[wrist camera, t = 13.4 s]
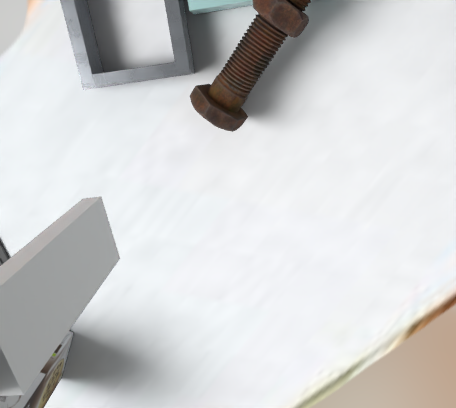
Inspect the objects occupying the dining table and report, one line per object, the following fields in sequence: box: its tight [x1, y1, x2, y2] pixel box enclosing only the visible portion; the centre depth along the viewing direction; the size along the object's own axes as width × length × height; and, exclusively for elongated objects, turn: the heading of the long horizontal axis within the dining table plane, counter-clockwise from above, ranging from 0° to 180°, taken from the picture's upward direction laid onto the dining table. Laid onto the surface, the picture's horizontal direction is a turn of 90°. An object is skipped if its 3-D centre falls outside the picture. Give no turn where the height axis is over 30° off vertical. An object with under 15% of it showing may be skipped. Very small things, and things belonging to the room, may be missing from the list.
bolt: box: [190, 0, 311, 131], centre depth 32 cm, size 6×5×15 cm
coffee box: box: [0, 331, 73, 408], centre depth 44 cm, size 9×6×16 cm
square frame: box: [60, 0, 195, 90], centre depth 35 cm, size 10×11×3 cm
